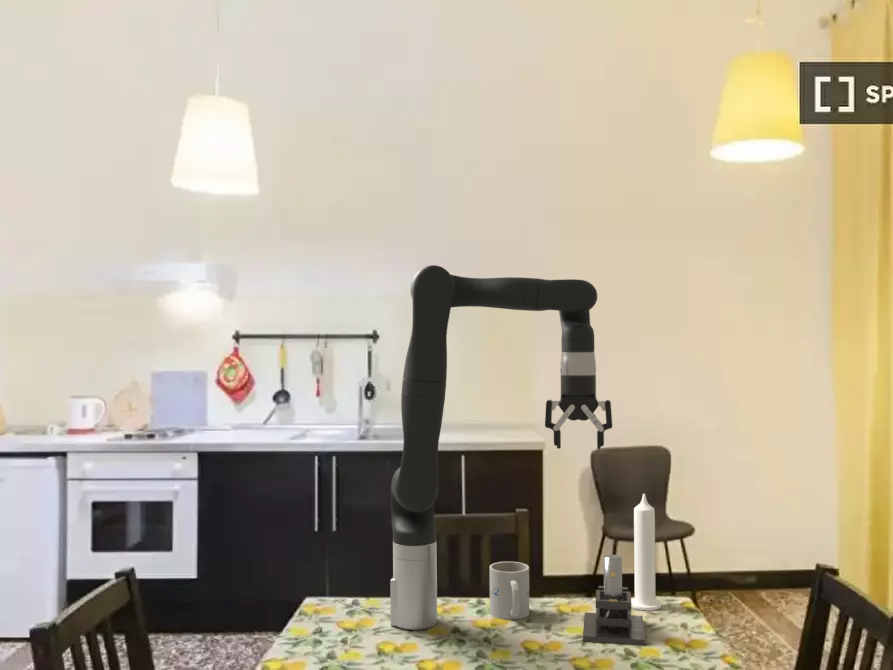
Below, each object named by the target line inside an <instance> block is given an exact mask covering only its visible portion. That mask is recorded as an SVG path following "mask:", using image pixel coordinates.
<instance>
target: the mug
mask: <svg viewBox="0 0 893 670" xmlns="http://www.w3.org/2000/svg"><path fill="white" fill-rule="evenodd" d="M489 614H490V616H492V617H494V618H497V619H499V620H510V621H511V620H521V619H524V618H527V617H529V616H530V567H529V565H528V564H526V563H524V562H519V561H498V562H494V563H492V564H490V565H489Z"/></svg>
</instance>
